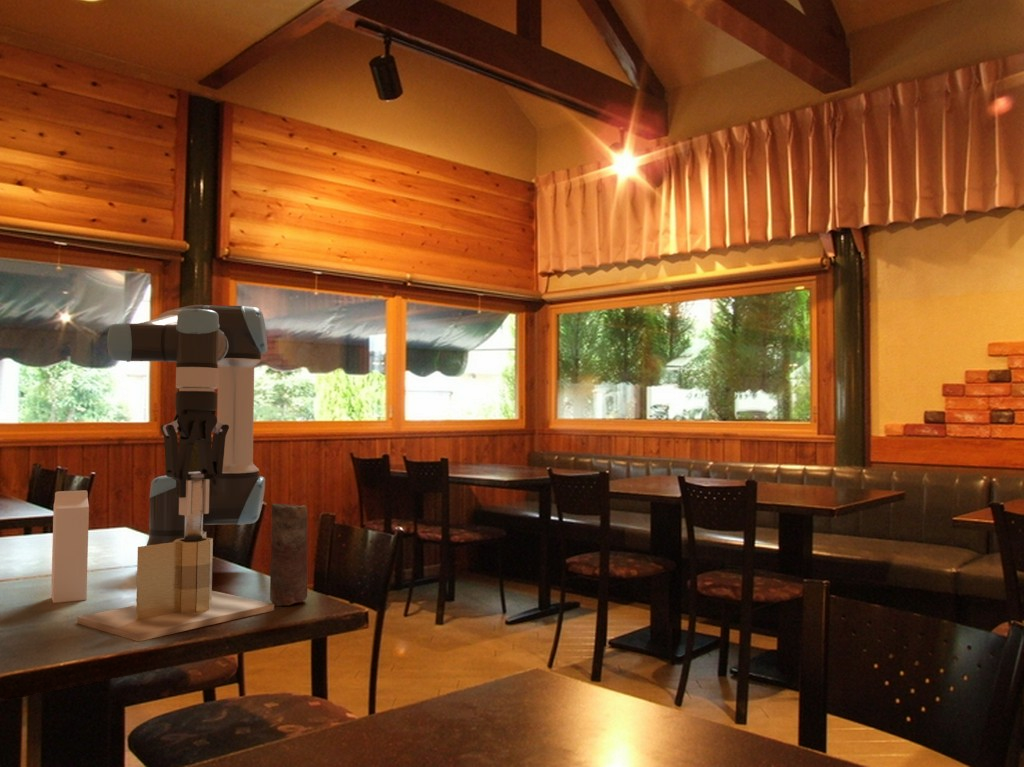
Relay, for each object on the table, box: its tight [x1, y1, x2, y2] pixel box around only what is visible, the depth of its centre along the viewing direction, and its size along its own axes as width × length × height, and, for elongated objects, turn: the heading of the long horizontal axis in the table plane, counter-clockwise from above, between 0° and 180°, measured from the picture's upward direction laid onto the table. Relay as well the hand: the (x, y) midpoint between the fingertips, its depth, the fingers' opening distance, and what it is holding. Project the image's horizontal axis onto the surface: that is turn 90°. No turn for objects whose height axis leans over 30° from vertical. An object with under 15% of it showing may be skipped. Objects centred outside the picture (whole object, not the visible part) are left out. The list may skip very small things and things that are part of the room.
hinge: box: [136, 531, 214, 620], centre depth 159 cm, size 19×11×13 cm, turn 144°
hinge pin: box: [184, 473, 205, 542], centre depth 159 cm, size 4×4×14 cm
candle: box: [269, 503, 309, 607], centre depth 170 cm, size 8×7×20 cm
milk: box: [50, 489, 90, 604], centre depth 172 cm, size 6×6×22 cm
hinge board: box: [76, 590, 275, 642], centre depth 158 cm, size 28×20×1 cm
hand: (193, 513), depth 159 cm, fingers closed on hinge pin, 3 cm apart
